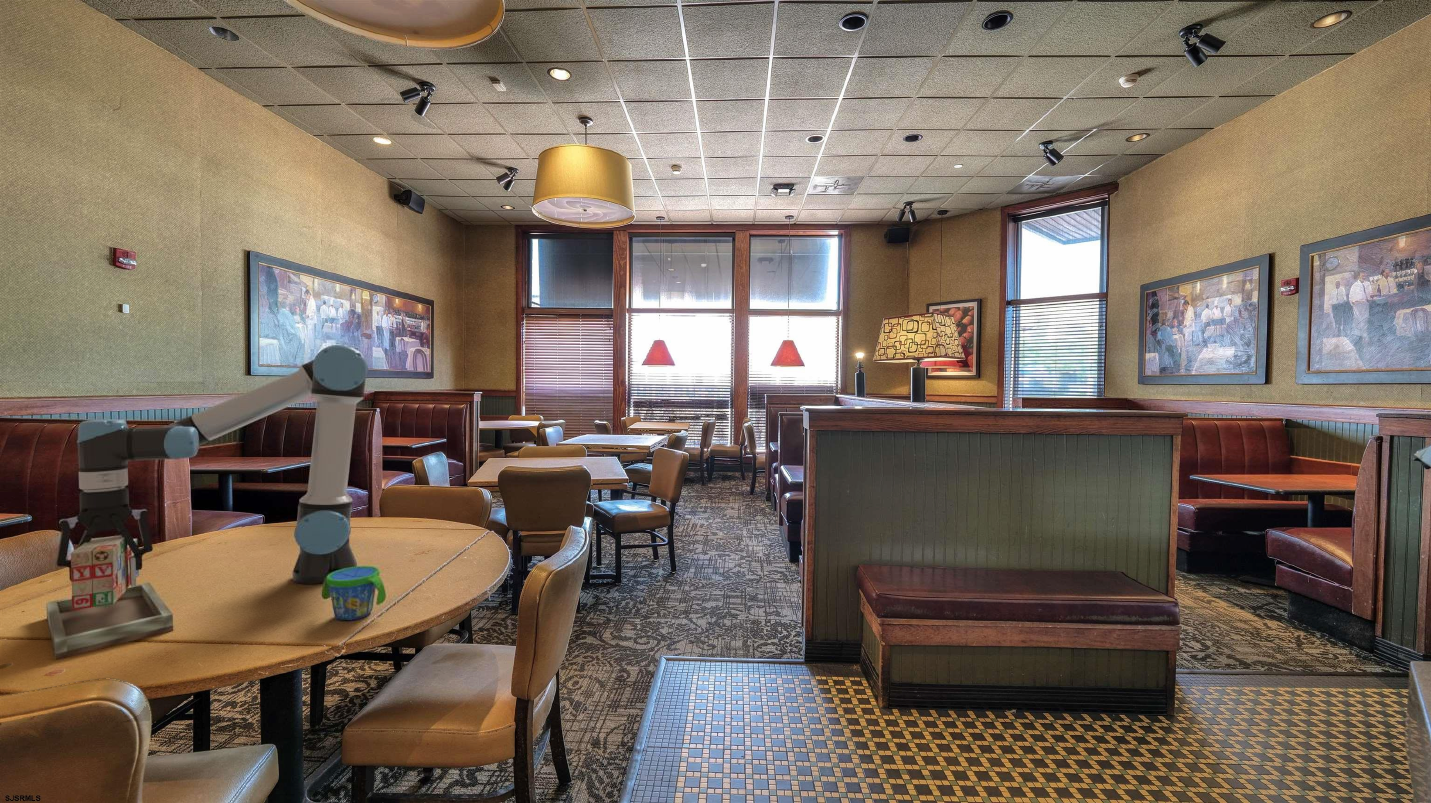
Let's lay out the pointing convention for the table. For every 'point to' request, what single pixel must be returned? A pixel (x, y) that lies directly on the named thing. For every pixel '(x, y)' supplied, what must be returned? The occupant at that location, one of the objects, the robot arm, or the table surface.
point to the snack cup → (353, 591)
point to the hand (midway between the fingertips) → (107, 589)
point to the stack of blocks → (100, 572)
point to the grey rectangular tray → (107, 621)
